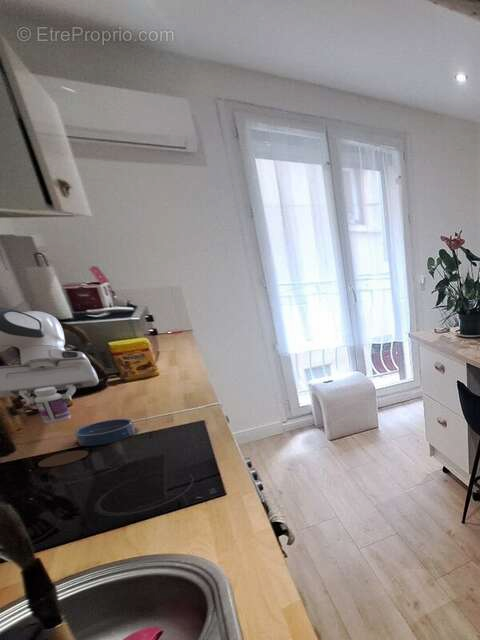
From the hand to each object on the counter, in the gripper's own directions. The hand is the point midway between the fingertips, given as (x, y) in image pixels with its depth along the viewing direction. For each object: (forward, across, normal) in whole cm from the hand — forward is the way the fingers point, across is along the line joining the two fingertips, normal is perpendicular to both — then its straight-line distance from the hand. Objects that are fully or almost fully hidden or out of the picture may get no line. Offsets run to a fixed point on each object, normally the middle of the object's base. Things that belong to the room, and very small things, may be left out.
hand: (50, 402), depth 115 cm
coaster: (+13, -1, +11) cm, 17 cm away
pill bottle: (+4, 0, +4) cm, 6 cm away
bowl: (+4, +7, +20) cm, 21 cm away
